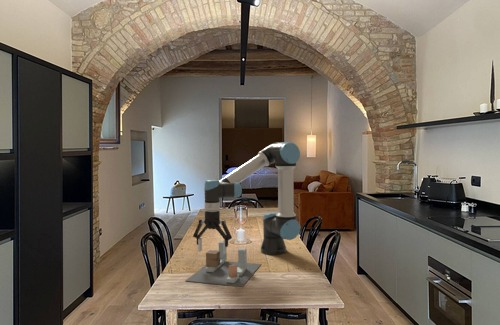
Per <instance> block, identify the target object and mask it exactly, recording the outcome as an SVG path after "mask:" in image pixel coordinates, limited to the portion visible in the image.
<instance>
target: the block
mask: <svg viewBox="0 0 500 325" xmlns="http://www.w3.org/2000/svg"><path fill="white" fill-rule="evenodd" d="M205 265H206V267H218V266H219V265H220V251H219V249H218V250H215V249H210V250H208V251H206V252H205Z"/></svg>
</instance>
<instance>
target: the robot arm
mask: <svg viewBox="0 0 500 325" xmlns="http://www.w3.org/2000/svg"><path fill="white" fill-rule="evenodd" d="M300 157H301V151H300V148H299V147H298V146H297V144H296V143H294V142H290V141H284V142H283V141H282V142H281V141H280V142H279V141H278V142H277V141H276V142H273V143H271V144H269V145H268V146H265V148H263V149H262V150H260V151H258V153H257V155H256V156H254V157H253V158H251V159H249V160H248V161H247V162H245V163H244V164H242V165H240V166H239V167H238V168H236V169H234V170H233V171H232V172H230V173H229V174H227V175H225V177H223V178H221V179H209V180H208V179H207V180H205V182H204V188H203V191H204V210H205V211H204V219H203V218H200V219H198V224H197V226H196V229H195V230H194V233H193V235H192V237H193V238H195V239H196V245H197V247H198V248H197V251H198V253H199V252H202V251H203V250H202V249H203V248H202V247H203V246H202V244H203V238H202V236H203V234H204V233H205V232H206V231H207V230H215V231H217V232H218V233H219V234H220V236H221V237H222V238H223V240H222V241H223V254H225V253H227V248H228V247H229V241H230V240H231V239H232V238H233V236H232V235H231V232H230V229H229V228H228V226H227V221H226V220H225V219H224V220H220V216H221V215H220V210H221V209H220V206H221V205H220V204H221V203H220V200H221V199H230V198H231V199H232V198H239V197H241V195H242V193H243V189H242V188H243V187H242V185H241V184H240V183H242V182H244V181H245V180H246V179H248V178H250V177H251V176H252V175H254V174H256V173H257V172H259V170H261V169H263V168H265V167H269V166H270V165H271V164H275V165H274V166H275V168H276V169H277V190H278V192H277V195H278V196H277V197H278V199H277V202H278V203H277V208H278V209H277V212H267V213H264V214H263V216H262V217H263V219H262V222H263V223H262V224H263V228H262V229H263V232H262V233H263V239H262V243H261V246H260V252H261V253H262V254H265V255H282V254H285V253H286V252H287V246H286V243H285V240H287V241H291V240H294V239H296V238H297V236H298V235H299V234H300V232H301V224H300V222H299V221H298V220H297V214H296V213H295V212H294V208H295V207H294V205H295V204H294V201H295V200H294V170H295V169H296V168H297V162H298V161H299V160H300ZM204 224H205V225H204ZM203 225H204V227H203V228H202V226H203ZM220 225H221V226H222V228H221V226H220Z"/></svg>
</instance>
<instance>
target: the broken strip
mask: <svg viewBox="0 0 500 325" xmlns="http://www.w3.org/2000/svg"><path fill="white" fill-rule="evenodd" d="M237 258H238V260H237V262H238V267H237V277H235V278H231V277H229V276H228V277H227V278H226V282H227V283H235V282H236V281H237V280H238V279H239V276H241V275H242V274H243V273H244V272H245V270H246V269H247V263H248V260H247V248H245V247H242V248H241V247H240V248H239V249H238V250H237Z"/></svg>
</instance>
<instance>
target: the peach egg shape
mask: <svg viewBox="0 0 500 325" xmlns="http://www.w3.org/2000/svg"><path fill="white" fill-rule="evenodd" d="M229 277H231V278H235V277H237V265H236V264H230V265H229Z"/></svg>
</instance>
